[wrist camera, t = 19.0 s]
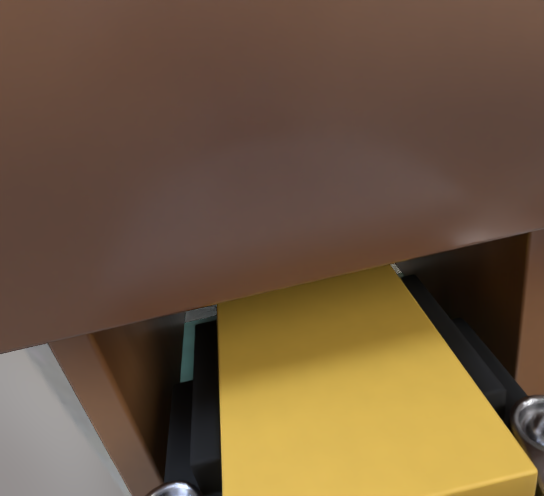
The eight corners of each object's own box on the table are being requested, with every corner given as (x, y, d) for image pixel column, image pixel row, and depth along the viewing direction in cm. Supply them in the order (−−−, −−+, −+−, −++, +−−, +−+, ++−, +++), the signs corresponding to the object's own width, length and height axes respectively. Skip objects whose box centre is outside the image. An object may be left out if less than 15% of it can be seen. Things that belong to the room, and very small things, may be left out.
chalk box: (215, 264, 12) (223, 547, 6) (366, 230, 12) (539, 470, 6) (250, 387, 14) (285, 692, 8) (378, 357, 14) (515, 634, 8)
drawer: (425, 393, 22) (542, 600, 14) (205, 445, 22) (204, 684, 14) (408, -101, 13) (717, -271, 5) (24, -20, 13) (-271, -67, 5)
